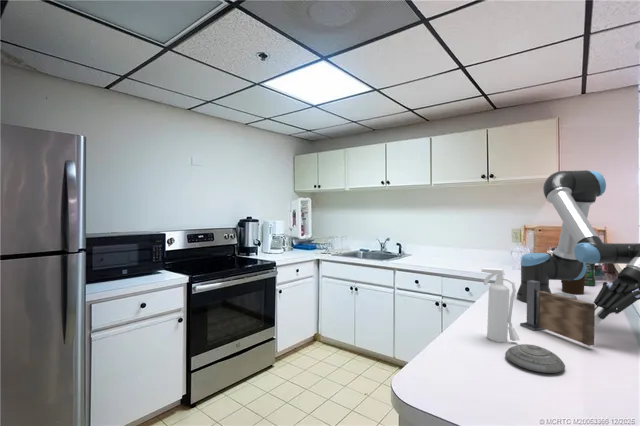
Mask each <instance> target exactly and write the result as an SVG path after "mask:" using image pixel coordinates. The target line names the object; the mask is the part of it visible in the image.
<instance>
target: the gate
mask: <svg viewBox="0 0 640 426" xmlns="http://www.w3.org/2000/svg"><path fill="white" fill-rule="evenodd" d="M553 293H554V292H553ZM553 293H552V292H551V293H549V292H545V291H539V290H538V291H537V326H539V327H541V328H543V329H545V330H546V331H549V332H551V333H554V334H557V335H560V336H563V337H566V338H568V339H570V340H573V341H576V342H578V343H582V344H583V345H585V346H588V347H589V346H590V347H592V346H594V345H595V327H594V322H595V308H596V304H595V303H591V302H586V301H583V300H578V299H577V300H576V299H572V298H568V297H564V296H560V295H556V294H553Z"/></svg>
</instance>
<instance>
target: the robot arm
mask: <svg viewBox="0 0 640 426" xmlns="http://www.w3.org/2000/svg"><path fill="white" fill-rule="evenodd" d="M606 190H607V183H606V179H605V178H604V175H603V174H602V173H601V172H599V171H598V170H588V169H587V170H585V169H584V170H561V171H560V170H559V171H556V172H554V173H552V174H551V175H549V176H548V177H547V178H546V180H545V182H544V184H543V190H542V192H543V195H544V198H545V199H546V201H547V202H548V203H551V204H552V206H553V207H554V209H555V211H556V212H557V214H558V216H559V217H560V219H561V221H562V224H561V230H560V234H559V239H558V244H557V248H555V249H554V250H553V251H552V255H549V253H546V252H532V253H531V252H530V253H526V254H523V255H522V256H521V260H520V285H519V288H518V291H516V292H517V293H516V299H517V300H518V301H521V302H523V303H527V281H530V280H534V281H538V282H540V291H545V292H549V293H552V291H551V289H550V281H561V280H568V281H570V280H578V279H581V278H582V277H583V276H584V275H585V273H586V269H587V266H586V263H592V264H595V265H596V264H617V265H618V264H621V265H622V264H625V267H623V269H621V271H619V273H618V274H617V278H616V279H614V280H613V281H612V282H607V281H604V282H603V283H602V287H601V289H600V290H599V292H598V294H597V295H596V297H595V299H594V301H593V304H595V322H594V328H596V326H597V325H599V323H600V322H601V321H603V320H605V319H607V317H608V316H609V315H610V314H613V313H614V314H616V315H619V313H621V312H623V311H624V310H625V309H627V308H628V307H630V306H632V305H633V304H634V303H636V302H637V301H638V300H640V242H639V243H638V242H637V243H635V242H632V243H631V242H630V243H625V242H623V243H619V242H617V243H615V242H614V243H613V242H612V243H609V242H607V243H605V242H603V241H602V239H601V238H600V237H599V235H598V233H597V232H596V230H595V229H594V227H593V226H592V224H591V223H590V222H589V220H588V217H589V216H588V215H589V212H590V206H591V205H593V204H595V203H596V201H597V198H598V197H601V196H602V195H603V194H604V193H605V192H606Z"/></svg>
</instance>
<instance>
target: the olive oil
mask: <svg viewBox="0 0 640 426" xmlns="http://www.w3.org/2000/svg"><path fill="white" fill-rule="evenodd" d="M560 282H561V291H562V293H568V294H572V295H575V296H577V295H578V296H579V295H582V296H583V295H584V293H585V285H584V283H585V275H584V276H583V277H582V278H581V279H578V280H570V281H568V280H560Z"/></svg>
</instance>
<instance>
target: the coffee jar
mask: <svg viewBox="0 0 640 426" xmlns="http://www.w3.org/2000/svg"><path fill="white" fill-rule="evenodd" d="M586 266H587V269H586V273H585V283H584V286H585V287H586V286H588V287H594V286H596V274H595V273H596V272H595V267H596V263H595V264H592V263H586Z"/></svg>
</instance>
